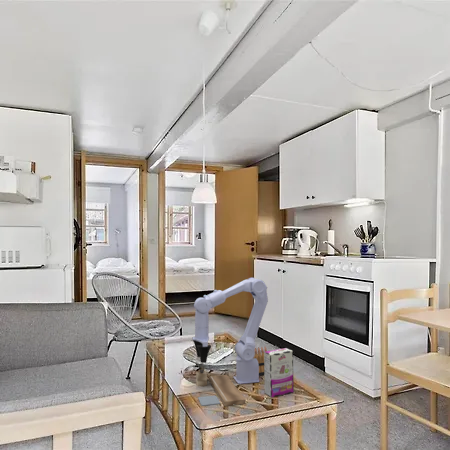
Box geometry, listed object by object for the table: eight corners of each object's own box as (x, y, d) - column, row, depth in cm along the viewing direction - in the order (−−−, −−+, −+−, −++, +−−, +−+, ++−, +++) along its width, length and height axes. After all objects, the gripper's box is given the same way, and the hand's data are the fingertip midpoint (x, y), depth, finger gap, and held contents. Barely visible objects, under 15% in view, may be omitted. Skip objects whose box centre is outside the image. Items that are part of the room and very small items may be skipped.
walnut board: (226, 378, 158) (226, 374, 158) (245, 403, 133) (245, 399, 133) (208, 380, 155) (208, 376, 156) (224, 406, 130) (224, 401, 131)
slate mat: (215, 396, 139) (215, 395, 139) (220, 403, 133) (220, 402, 133) (197, 398, 137) (197, 397, 137) (201, 406, 131) (201, 405, 131)
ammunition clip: (252, 377, 159) (247, 348, 162) (250, 377, 160) (245, 348, 164) (272, 373, 164) (267, 345, 167) (270, 373, 165) (265, 345, 169)
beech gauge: (205, 383, 153) (205, 368, 153) (206, 385, 150) (207, 371, 150) (196, 384, 151) (196, 369, 152) (197, 386, 149) (197, 371, 149)
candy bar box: (286, 388, 147) (286, 347, 148) (294, 392, 143) (293, 350, 144) (263, 393, 142) (263, 351, 143) (270, 398, 138) (270, 354, 139)
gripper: (189, 323, 158) (189, 355, 157) (195, 331, 144) (195, 366, 143) (205, 322, 160) (205, 353, 159) (212, 330, 146) (212, 364, 145)
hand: (201, 359), depth 151 cm, fingers open, 7 cm apart
